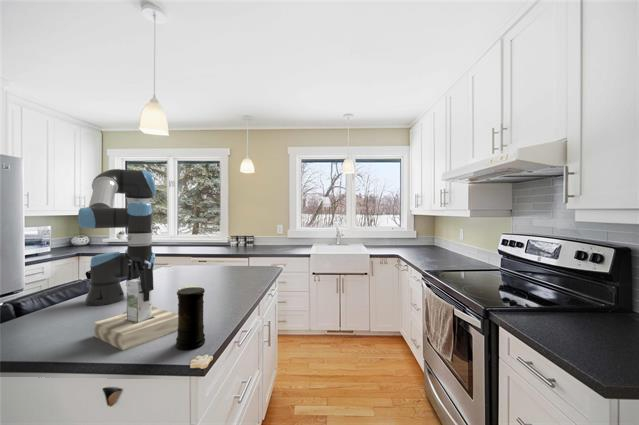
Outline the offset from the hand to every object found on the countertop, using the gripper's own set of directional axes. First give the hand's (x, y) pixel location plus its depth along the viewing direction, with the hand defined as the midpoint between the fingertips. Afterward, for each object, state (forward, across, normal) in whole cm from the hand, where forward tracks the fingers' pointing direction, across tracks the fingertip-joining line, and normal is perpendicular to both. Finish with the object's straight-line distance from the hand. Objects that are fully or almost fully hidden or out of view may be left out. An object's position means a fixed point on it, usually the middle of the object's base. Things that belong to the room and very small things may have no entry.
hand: (139, 308), depth 105 cm
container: (+9, +24, +4) cm, 26 cm away
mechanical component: (+9, -20, +9) cm, 24 cm away
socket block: (+9, 0, 0) cm, 9 cm away
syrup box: (+4, 0, 0) cm, 4 cm away
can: (+9, -1, +21) cm, 23 cm away
